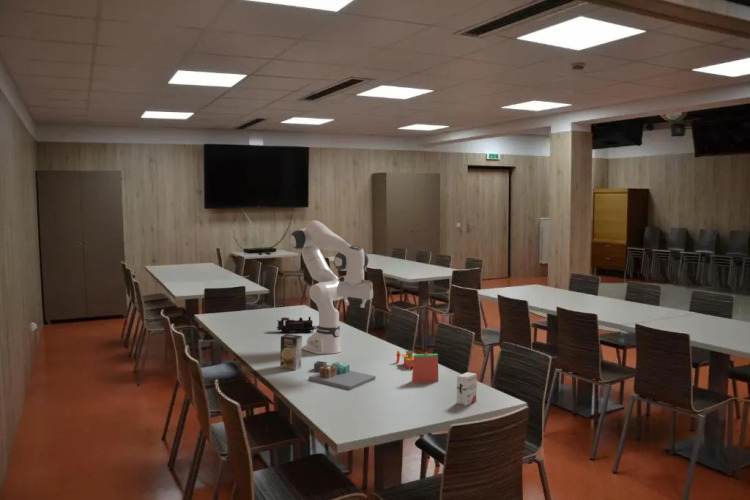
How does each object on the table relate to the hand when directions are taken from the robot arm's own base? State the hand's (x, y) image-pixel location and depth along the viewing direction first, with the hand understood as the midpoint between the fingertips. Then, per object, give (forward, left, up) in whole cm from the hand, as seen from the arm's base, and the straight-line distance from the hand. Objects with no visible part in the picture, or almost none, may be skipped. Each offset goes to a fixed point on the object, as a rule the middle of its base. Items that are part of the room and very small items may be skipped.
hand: (354, 306), depth 293 cm
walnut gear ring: (+2, -23, -30) cm, 37 cm away
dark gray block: (-10, -14, -31) cm, 35 cm away
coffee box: (-24, -20, -31) cm, 44 cm away
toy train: (-75, +42, -31) cm, 91 cm away
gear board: (+8, -20, -31) cm, 38 cm away
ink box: (+68, -13, -31) cm, 76 cm away
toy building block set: (+28, +13, -31) cm, 44 cm away
